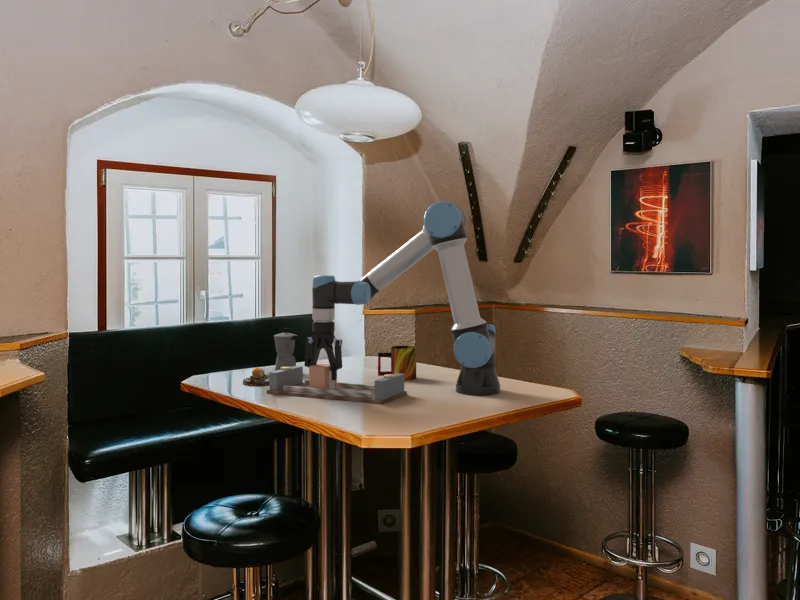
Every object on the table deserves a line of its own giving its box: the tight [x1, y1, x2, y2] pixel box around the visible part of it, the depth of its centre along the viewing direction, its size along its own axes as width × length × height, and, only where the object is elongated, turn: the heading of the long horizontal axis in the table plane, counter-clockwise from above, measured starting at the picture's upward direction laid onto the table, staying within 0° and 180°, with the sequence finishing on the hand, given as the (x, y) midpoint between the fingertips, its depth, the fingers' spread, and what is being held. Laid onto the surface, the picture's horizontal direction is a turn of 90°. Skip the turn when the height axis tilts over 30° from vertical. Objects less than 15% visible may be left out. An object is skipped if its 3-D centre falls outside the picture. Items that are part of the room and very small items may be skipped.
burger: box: [242, 367, 270, 387], centre depth 253 cm, size 12×12×8 cm
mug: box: [377, 345, 417, 381], centre depth 262 cm, size 10×14×12 cm
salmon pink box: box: [308, 362, 338, 389], centre depth 234 cm, size 6×8×8 cm
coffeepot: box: [273, 327, 300, 371], centre depth 276 cm, size 15×9×18 cm, turn 43°
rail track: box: [266, 379, 408, 405], centre depth 232 cm, size 44×18×2 cm, turn 65°
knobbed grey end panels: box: [268, 365, 405, 400], centre depth 232 cm, size 44×16×7 cm, turn 65°
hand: (323, 388), depth 234 cm, fingers closed on salmon pink box, 6 cm apart
